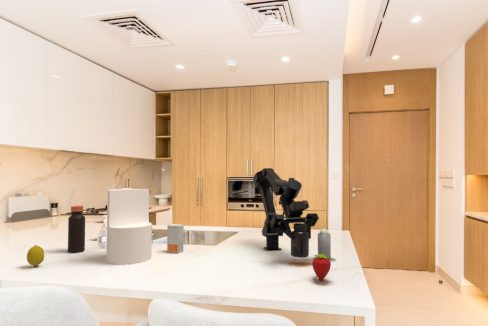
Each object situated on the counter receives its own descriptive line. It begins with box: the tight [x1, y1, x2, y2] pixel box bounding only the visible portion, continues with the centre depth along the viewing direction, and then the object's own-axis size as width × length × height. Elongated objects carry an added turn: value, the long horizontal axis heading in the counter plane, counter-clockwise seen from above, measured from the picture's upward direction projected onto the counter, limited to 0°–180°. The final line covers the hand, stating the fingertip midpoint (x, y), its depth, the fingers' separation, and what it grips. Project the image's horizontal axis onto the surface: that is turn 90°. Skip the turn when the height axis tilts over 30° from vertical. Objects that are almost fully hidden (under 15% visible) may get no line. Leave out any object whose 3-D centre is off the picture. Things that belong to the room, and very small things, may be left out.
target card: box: [288, 256, 337, 268], centre depth 130 cm, size 12×22×1 cm, turn 107°
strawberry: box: [311, 251, 332, 282], centre depth 109 cm, size 6×8×10 cm
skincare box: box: [166, 223, 185, 254], centre depth 149 cm, size 6×4×12 cm
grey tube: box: [317, 228, 332, 260], centre depth 134 cm, size 5×5×12 cm
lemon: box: [26, 244, 45, 268], centre depth 125 cm, size 6×6×8 cm
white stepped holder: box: [106, 188, 153, 266], centre depth 137 cm, size 17×17×28 cm
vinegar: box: [67, 205, 86, 254], centre depth 150 cm, size 7×7×20 cm
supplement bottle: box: [290, 223, 310, 259], centre depth 128 cm, size 7×7×12 cm
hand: (301, 238), depth 126 cm, fingers closed on supplement bottle, 7 cm apart
